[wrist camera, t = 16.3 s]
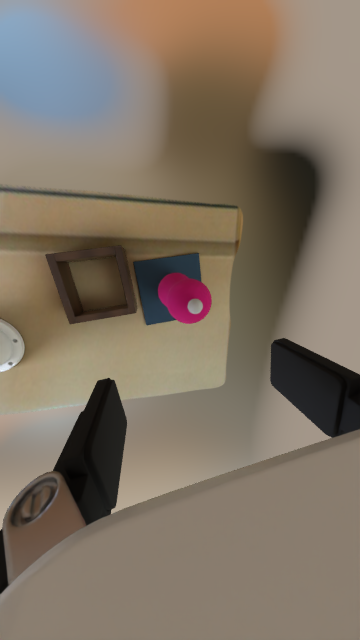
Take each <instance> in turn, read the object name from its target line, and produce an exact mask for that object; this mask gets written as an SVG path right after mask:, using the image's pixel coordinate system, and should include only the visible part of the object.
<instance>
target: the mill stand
mask: <svg viewBox="0 0 360 640" xmlns="http://www.w3.org/2000/svg"><path fill="white" fill-rule="evenodd" d="M45 256H46V258H47V261H48V264H49V267H50V270H51V273H52V275H53V278H54V281H55V284H56V287H57V289H58V292H59V295H60V298H61V301H62V304H63V306H64V309H65V312H66V315H67V318H68V321H69V323H70V324H74V323H80V322H86V321H92V320H98V319H104V318H110V317H115V316H121V315H127V314H133V313H136V311H137V303H136V299H135V294H134V290H133V285H132V280H131V276H130V271H129V267H128V262H127V257H126V253H125V249H124V248H123V247H122V246H121V245H120V246H112V247H103V248H95V249H87V250H79V251H70V252H62V253H54V254H46V255H45ZM108 257H116V259H117V263H118V267H119V271H120V276H121V280H122V284H123V288H124V293H125V297H126V301H127V304H126V305H119V306H113V307H107V308H101V309H95V310H89V311H83V309H82V305H81V302H80V299H79V296H78V293H77V290H76V287H75V284H74V281H73V277H72V274H71V271H70V268H69V265H68V263H69V262H77V261H85V260H93V259H101V258H108Z"/></svg>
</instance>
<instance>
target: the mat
mask: <svg viewBox="0 0 360 640" xmlns="http://www.w3.org/2000/svg"><path fill="white" fill-rule="evenodd" d="M133 263H134V267H135V272H136V277H137V282H138V287H139V291H140V296H141V301H142V306H143V311H144V316H145V320H146V325H151V324H156V323H162V322H167V321H173V320H176V319H175V318H174V317H173V316H172V315H171V314H170V312H169V310H168V307H166V306H165V305H164V304H163V303H162V302H161V300H160V298H159V295H158V287H159V284H160V282H161V280H162V279H163V278H164V277H165V276H166V275H168V274H171V273H181V274H184V275H185V276H187V277H188V278H189V279H195V280H198V281H200V282H201V273H200V263H199V253H197V254H189V255H182V256H174V257H167V258H159V259H152V260H145V261H137V262H133Z"/></svg>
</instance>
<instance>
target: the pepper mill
mask: <svg viewBox="0 0 360 640" xmlns="http://www.w3.org/2000/svg"><path fill="white" fill-rule="evenodd" d="M158 295H159V298H160V300H161V302H162V303H163V304H164V305H165V306H166V307H168V310H169V312H170V314H171V315H172V316H173V317H174V318H175V319H176V320H178V321H179V322H182V323H187V324H191V323H196V322H198V321H200V320H202V319H203V318H204V317H205V316H206V315H207V314H208V312H209V310H210V307H211V294H210V292H209V290H208V288H207V287H206V286H205V285H204V284H203V283H202V282H200V281H198V280H195V279H189V278H188V277H187V276H185V275H184V274H181V273H171V274H168V275H166V276H165V277H164V278H163V279H162V280H161V282H160V284H159V287H158Z"/></svg>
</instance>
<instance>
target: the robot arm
mask: <svg viewBox="0 0 360 640" xmlns="http://www.w3.org/2000/svg"><path fill="white" fill-rule="evenodd" d="M24 349H25V346H24V341H23V339H22V337H21V335H20V334H19V332H18V331H17V330H16V329H15V328H14V327H13V326H12V325H10V324H9V323H8V322H6V321H4V320H2V319H0V372H3V371H6V370H8V369H11V368H12V367H14V366H15V365H16V364H17V363H19V362H20V360H21V359H22V357H23V355H24ZM270 378H271V384H272V385H273V386H274V387H275V388H276V389H277V390H278V391H279V392H280V393H281V394H282V395H283V396H284V397H286V398H287V399H288V400H289V401H290V402H291V403H292V404H293V405H294V406H295V407H296V408H298V409H299V410H300V411H301V412H302V413H303V414H304V415H305V416H306V417H307V418H308V419H310V420H311V421H312V422H313V423H314V424H315V425H316V426H317V427H318V428H320V429H321V430H322V431H323V432H324V433H325V434H326V435H328V436H331V437H332V438H331V439H328V440H325V441H321V442H319V443H315V444H312V445H309V446H306V447H303V448H300V449H297V450H294V451H291V452H288V453H285V454H282V455H279V456H276V457H273V458H270V459H267V460H264V461H261V462H258V463H255V464H252V465H249V466H246V467H243V468H240V469H237V470H234V471H231V472H228V473H225V474H222V475H219V476H216V477H213V478H210V479H207V480H204V481H202V482H198V483H195V484H193V485H189V486H187V487H184V488H181V489H178V490H175V491H172V492H169V493H166V494H163V495H161V496H158V497H155V498H152V499H150V500H147V501H144V502H142V503H139V504H136V505H133V506H130V507H128V508H125V509H123V510H120V511H118V512H115V513H113V514H111V509H113V508H115V506H116V502H117V495H118V488H119V480H120V473H121V465H122V458H123V450H124V443H125V435H126V428H127V420H126V416H125V412H124V409H123V406H122V403H121V400H120V396H119V393H118V390H117V387H116V384H115V381H114V380H111V379H110V378H107V379H103V380H99V381H97V383H96V385H95V388H94V390H93V392H92V394H91V396H90V399H89V401H88V403H87V405H86V407H85V409H84V411H83V412H81V413H80V415H79V417H78V419H77V421H76V423H75V425H74V427H73V430H72V432H71V434H70V436H69V438H68V440H67V442H66V444H65V446H64V449H63V451H62V453H61V455H60V457H59V459H58V461H57V463H56V465H55V467H54V470H53V471H51V472H47V473H45V474H43V475H41V476H39V477H37V478H36V479H34V480H33V481H32V482H30V483H29V484H28V485H27V486H26V487H25V488H24V489H23V490H22V491H21V492H20V493H19V494H18V495H17V496H16V498H15V499H14V500H13V502H12V503H11V505H10V506H9V508H8V510H7V512H6V514H5V517H4V519H3V527H2V529H1V531H0V640H360V375H359V374H357V373H355V372H353V371H351V370H349V369H347V368H345V367H343V366H341V365H339V364H337V363H335V362H333V361H330V360H329V359H327V358H324V357H322V356H320V355H318V354H316V353H314V352H312V351H310V350H308V349H306V348H304V347H302V346H300V345H298V344H296V343H294V342H292V341H290V340H288V339H285V338H282V339H278V340H274V342H273V343H272V345H271V377H270Z"/></svg>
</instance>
